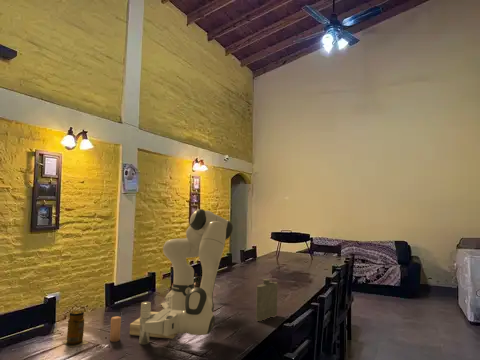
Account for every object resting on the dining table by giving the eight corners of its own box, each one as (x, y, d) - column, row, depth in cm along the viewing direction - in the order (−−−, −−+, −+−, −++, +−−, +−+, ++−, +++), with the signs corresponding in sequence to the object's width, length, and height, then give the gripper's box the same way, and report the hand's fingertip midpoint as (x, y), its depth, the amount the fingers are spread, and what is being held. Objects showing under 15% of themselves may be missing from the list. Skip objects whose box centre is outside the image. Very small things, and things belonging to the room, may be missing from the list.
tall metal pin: (137, 342, 147) (139, 302, 148) (146, 340, 149) (148, 301, 151) (141, 345, 144) (143, 304, 145) (150, 343, 146) (152, 303, 148)
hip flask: (259, 322, 177) (260, 281, 179) (253, 320, 180) (254, 280, 181) (278, 316, 189) (278, 278, 190) (272, 314, 192) (272, 276, 193)
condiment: (79, 337, 150) (81, 308, 151) (88, 343, 144) (90, 313, 145) (61, 342, 145) (64, 312, 146) (70, 348, 139) (72, 316, 140)
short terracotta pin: (108, 339, 149) (109, 317, 150) (118, 337, 151) (119, 315, 152) (111, 342, 146) (112, 319, 147) (121, 340, 148) (122, 318, 149)
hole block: (148, 320, 175) (148, 311, 175) (187, 323, 172) (187, 314, 172) (129, 334, 155) (130, 324, 156) (173, 338, 152) (173, 327, 152)
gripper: (183, 306, 156) (153, 304, 158) (166, 320, 136) (132, 318, 138) (182, 321, 155) (152, 318, 158) (165, 337, 135) (131, 334, 137)
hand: (143, 318), depth 148 cm, fingers closed on tall metal pin, 4 cm apart
